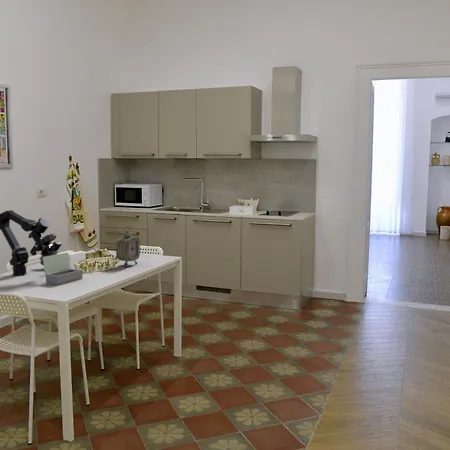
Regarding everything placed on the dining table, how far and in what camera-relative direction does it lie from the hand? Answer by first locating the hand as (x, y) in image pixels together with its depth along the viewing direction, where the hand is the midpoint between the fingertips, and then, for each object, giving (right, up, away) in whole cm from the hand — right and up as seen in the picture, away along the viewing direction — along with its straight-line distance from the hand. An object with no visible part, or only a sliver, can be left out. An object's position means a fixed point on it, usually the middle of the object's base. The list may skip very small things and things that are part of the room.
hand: (54, 259), depth 298 cm
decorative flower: (-12, -8, +35) cm, 38 cm away
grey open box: (+6, -12, -2) cm, 14 cm away
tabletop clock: (+34, -7, +41) cm, 54 cm away
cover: (+2, -2, -1) cm, 3 cm away
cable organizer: (+2, -9, +25) cm, 27 cm away
